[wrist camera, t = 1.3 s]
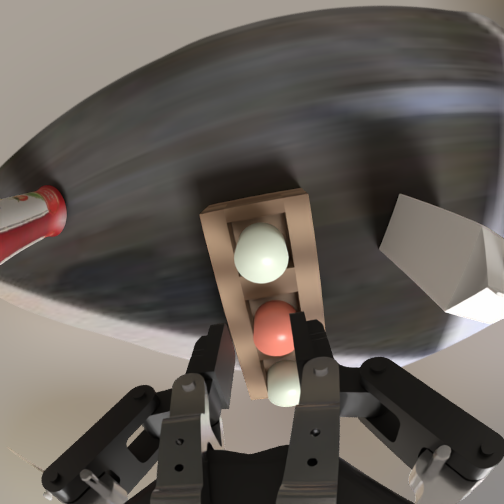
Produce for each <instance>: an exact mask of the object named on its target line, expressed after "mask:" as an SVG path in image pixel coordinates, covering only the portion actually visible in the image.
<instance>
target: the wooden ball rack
mask: <svg viewBox="0 0 504 504" xmlns="http://www.w3.org/2000/svg"><path fill="white" fill-rule="evenodd" d="M199 215H200V219H201V223H202V227H203V232H204V236H205V240H206V244H207V247H208V251H209V255H210V259H211V263H212V267H213V271H214V274H215V278H216V282H217V286H218V289H219V293H220V297H221V300H222V304H223V307H224V311H225V315H226V318H227V322H228V325H229V329H230V332H231V336H232V339H233V342H234V346H235V349H236V353H237V356H238V359H239V362H240V366H241V369H242V372H243V376H244V379H245V382H246V385H247V388H248V392H249V395H250V397H251V400H256V399H265V398H268V370H269V368H270V367H271V366H272V365H273V364H275V363H276V362H279V361H282V360H293V361H296V357H295V350H293V351H292V352H290V353H288V354H286V355H282V356H270V355H266V354H264V353H262V352H261V351H260V350H258V349H257V347H256V346H255V344H254V340H253V336H254V317H255V313H256V311H257V309H258V308H259V307H260V306H261V305H262V304H264V303H266V302H268V301H272V300H281V301H285V302H287V303H289V304H290V305H291V306H293V308H294V309H295V311H296V312H301V311H304V313H305V317H306V321H309V320H314V319H317V320H318V321H320V322H321V323H322V324H323V326H324V329H325V323H324V312H323V302H322V292H321V283H320V274H319V266H318V258H317V250H316V243H315V236H314V229H313V222H312V215H311V209H310V202H309V196H308V193H307V192H305V191H304V190H303V189H302V188H297V189H291V190H285V191H280V192H274V193H268V194H263V195H258V196H252V197H247V198H242V199H237V200H232V201H227V202H222V203H218V204H213V205H209V206H208V207H207V208H206V209H205V210H203V211H202V212H201V213H200V214H199ZM254 223H268V224H271V225H273V226H275V227H276V228H278V229H279V230H280V232H281V233H282V235H283V237H284V240H285V244H286V248H287V251H288V264H287V267H286V269H285V271H284V273H283V274H282V275H281V276H280V277H279V278H277V279H276V280H274V281H271V282H268V283H254V282H251V281H249V280H247V279H245V278H244V277H243V276H242V275H241V274H240V273H239V272H238V270H237V268H236V266H235V261H234V254H235V250H236V246H237V243H238V239H239V236H240V234H241V233H242V231H243V230H244V229H245V228H247V227H248V226H250V225H252V224H254Z"/></svg>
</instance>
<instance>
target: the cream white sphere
mask: <svg viewBox="0 0 504 504" xmlns="http://www.w3.org/2000/svg"><path fill="white" fill-rule="evenodd" d="M268 398H269V400H270V401H271V402H272V403H273V404H275V405H278V406H282V407H289V406H294V405H297V404H299V399H300V384H299V377H298V370H297V364H296V361H293V360H282V361H279V362H276V363H275V364H273V365H272V366H271V367H270V368H269V370H268Z"/></svg>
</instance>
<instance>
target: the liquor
mask: <svg viewBox="0 0 504 504" xmlns="http://www.w3.org/2000/svg"><path fill="white" fill-rule="evenodd" d="M66 217H67V211H66V205H65V202H64V199H63V197H62V195H61V193H60V192H59V191H58V190H57V189H56V188H55V187H53V186H50V185H45V186H42V187H41V188H39V189H38V190H37V191H35V192H30V193H26V194H22V195H17V196H13V197H9V198H4V199H0V265H1V264H2V263H3V262H5V261H6V260H8V259H9V258H11V257H12V256H14V255H15V254H17V253H19V252H20V251H22V250H24V249H25V248H27V247H29V246H30V245H32V244H34V243H36V242H38V241H39V240H41V239H43V238H45V237H47V236H50V237H53V236H57V235H58V234H60V233H61V231H62V230H63V228H64V226H65V223H66Z"/></svg>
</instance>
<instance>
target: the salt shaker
mask: <svg viewBox="0 0 504 504" xmlns="http://www.w3.org/2000/svg"><path fill="white" fill-rule="evenodd" d="M43 496H44V497H45V498H47V499H48V500H52V494H51V493H50V492H49V491H47V490H46V493H45V492H44V494H43Z"/></svg>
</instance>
